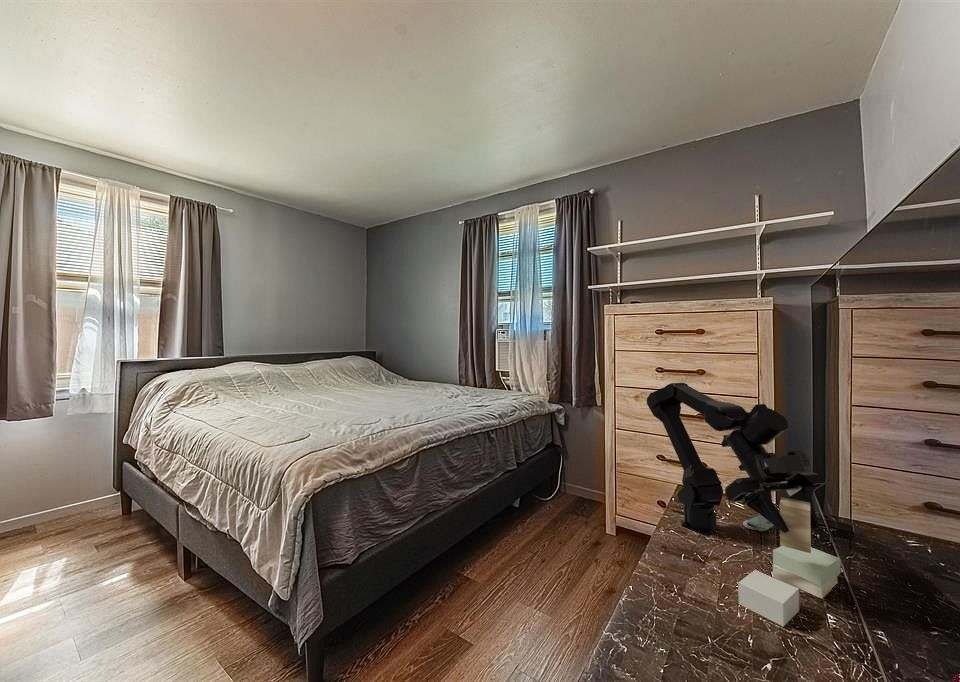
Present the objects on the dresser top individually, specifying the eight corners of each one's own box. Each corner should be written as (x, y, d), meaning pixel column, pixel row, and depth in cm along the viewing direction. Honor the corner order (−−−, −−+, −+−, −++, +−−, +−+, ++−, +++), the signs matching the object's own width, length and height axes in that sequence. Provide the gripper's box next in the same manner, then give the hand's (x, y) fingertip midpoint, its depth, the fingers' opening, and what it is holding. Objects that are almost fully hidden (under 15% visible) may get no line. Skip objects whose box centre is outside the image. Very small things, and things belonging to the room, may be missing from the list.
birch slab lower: (773, 579, 80) (772, 565, 80) (789, 566, 84) (788, 552, 84) (822, 601, 73) (822, 585, 73) (837, 586, 77) (837, 571, 77)
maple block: (780, 545, 74) (779, 504, 74) (781, 535, 78) (780, 496, 78) (810, 553, 71) (810, 510, 71) (810, 543, 75) (810, 502, 75)
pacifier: (738, 528, 101) (765, 536, 96) (737, 504, 101) (764, 511, 96) (750, 520, 105) (776, 527, 100) (748, 497, 105) (775, 503, 100)
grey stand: (738, 603, 72) (738, 582, 72) (755, 590, 76) (755, 569, 76) (783, 626, 66) (782, 603, 66) (799, 610, 70) (798, 588, 70)
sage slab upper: (773, 564, 80) (772, 550, 80) (793, 553, 84) (792, 540, 84) (820, 586, 73) (820, 570, 73) (840, 573, 76) (840, 558, 76)
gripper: (734, 439, 77) (786, 519, 66) (815, 433, 80) (877, 510, 69) (706, 465, 85) (749, 540, 74) (780, 459, 87) (832, 531, 77)
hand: (802, 530), depth 73 cm, fingers closed on maple block, 6 cm apart
